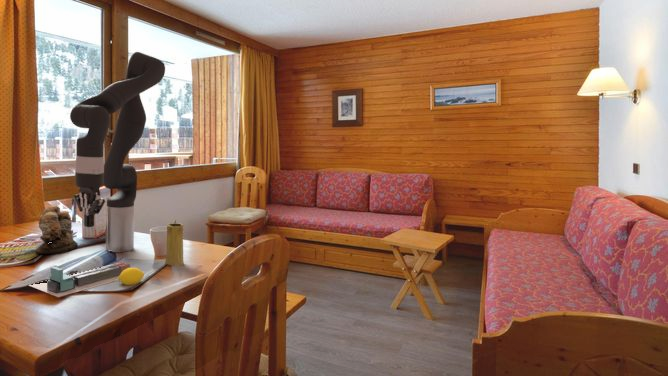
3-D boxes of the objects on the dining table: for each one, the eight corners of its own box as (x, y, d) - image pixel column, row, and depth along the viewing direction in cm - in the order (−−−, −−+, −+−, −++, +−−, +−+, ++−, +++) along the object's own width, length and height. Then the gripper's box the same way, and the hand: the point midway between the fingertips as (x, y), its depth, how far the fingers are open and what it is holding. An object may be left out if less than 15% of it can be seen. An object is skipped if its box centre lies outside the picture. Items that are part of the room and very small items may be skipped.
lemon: (118, 290, 116) (115, 272, 116) (122, 283, 122) (119, 266, 121) (143, 286, 118) (141, 268, 118) (146, 279, 123) (144, 263, 123)
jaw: (73, 284, 115) (73, 276, 115) (70, 283, 116) (69, 274, 116) (124, 270, 129) (125, 263, 129) (121, 269, 130) (121, 262, 130)
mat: (28, 287, 113) (28, 285, 113) (112, 265, 135) (112, 264, 135) (58, 299, 106) (58, 297, 106) (141, 274, 129) (141, 273, 128)
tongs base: (56, 293, 109) (56, 283, 108) (47, 290, 111) (47, 280, 110) (130, 272, 128) (130, 264, 128) (121, 270, 130) (121, 261, 130)
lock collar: (61, 291, 109) (60, 270, 108) (49, 286, 112) (49, 266, 111) (73, 288, 112) (73, 268, 111) (61, 283, 114) (61, 264, 114)
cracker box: (97, 231, 182) (97, 185, 179) (111, 231, 182) (111, 186, 180) (80, 238, 168) (80, 189, 165) (95, 238, 168) (95, 189, 166)
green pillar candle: (177, 267, 138) (177, 227, 136) (161, 265, 139) (162, 225, 137) (187, 262, 144) (187, 224, 142) (171, 260, 145) (172, 222, 143)
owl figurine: (63, 256, 143) (62, 209, 141) (26, 256, 140) (24, 209, 138) (83, 243, 160) (83, 201, 158) (50, 243, 158) (49, 201, 156)
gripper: (64, 169, 122) (64, 224, 124) (89, 173, 115) (88, 232, 117) (89, 168, 128) (89, 221, 130) (114, 173, 122) (113, 228, 124)
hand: (89, 226), depth 124 cm, fingers closed
